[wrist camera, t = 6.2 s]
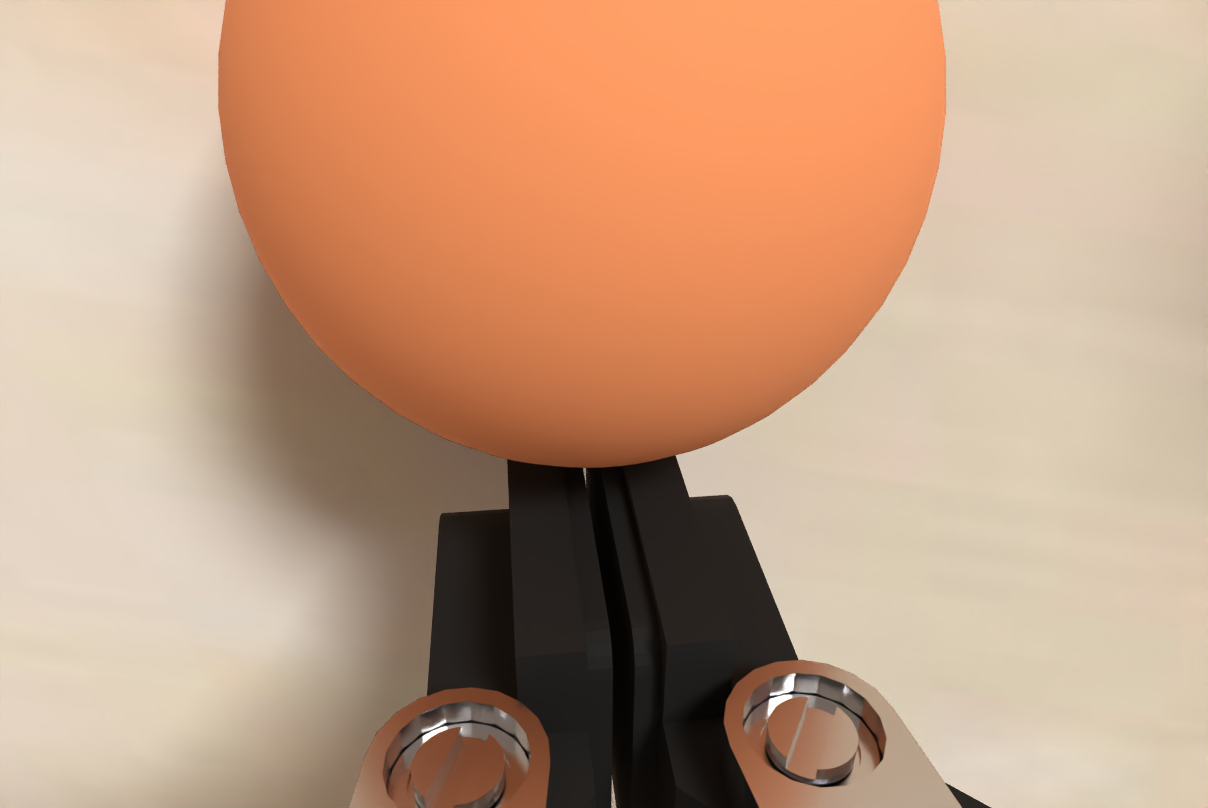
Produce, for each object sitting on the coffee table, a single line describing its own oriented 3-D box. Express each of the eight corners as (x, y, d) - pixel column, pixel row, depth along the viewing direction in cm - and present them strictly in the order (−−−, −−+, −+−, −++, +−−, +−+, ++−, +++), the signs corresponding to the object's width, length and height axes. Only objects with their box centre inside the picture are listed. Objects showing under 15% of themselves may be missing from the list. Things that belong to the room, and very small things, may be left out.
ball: (1075, 464, 7) (1183, -392, 5) (408, 723, 5) (173, -668, 3) (688, 325, 12) (672, -161, 10) (247, 422, 9) (114, -195, 7)
